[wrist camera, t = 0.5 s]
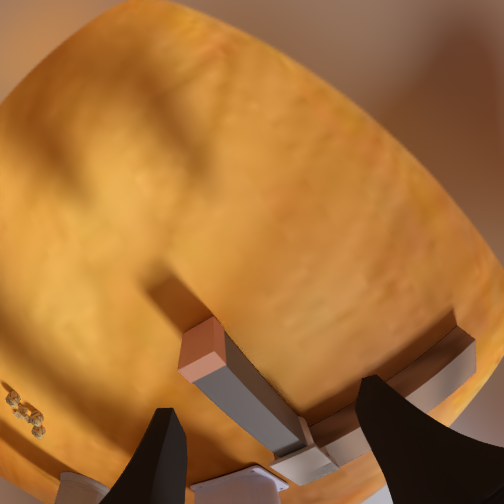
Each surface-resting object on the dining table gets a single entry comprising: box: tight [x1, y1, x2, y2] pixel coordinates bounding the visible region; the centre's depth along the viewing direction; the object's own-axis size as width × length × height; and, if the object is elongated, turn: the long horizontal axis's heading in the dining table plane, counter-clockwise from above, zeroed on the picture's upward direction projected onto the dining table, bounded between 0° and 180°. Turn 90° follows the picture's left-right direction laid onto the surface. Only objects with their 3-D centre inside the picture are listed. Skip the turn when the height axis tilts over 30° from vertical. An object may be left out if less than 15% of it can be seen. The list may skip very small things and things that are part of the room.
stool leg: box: [178, 316, 314, 458], centre depth 20 cm, size 15×3×4 cm, turn 32°
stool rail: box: [269, 326, 476, 486], centre depth 22 cm, size 22×10×5 cm, turn 122°
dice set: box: [6, 390, 46, 439], centre depth 20 cm, size 5×5×2 cm
